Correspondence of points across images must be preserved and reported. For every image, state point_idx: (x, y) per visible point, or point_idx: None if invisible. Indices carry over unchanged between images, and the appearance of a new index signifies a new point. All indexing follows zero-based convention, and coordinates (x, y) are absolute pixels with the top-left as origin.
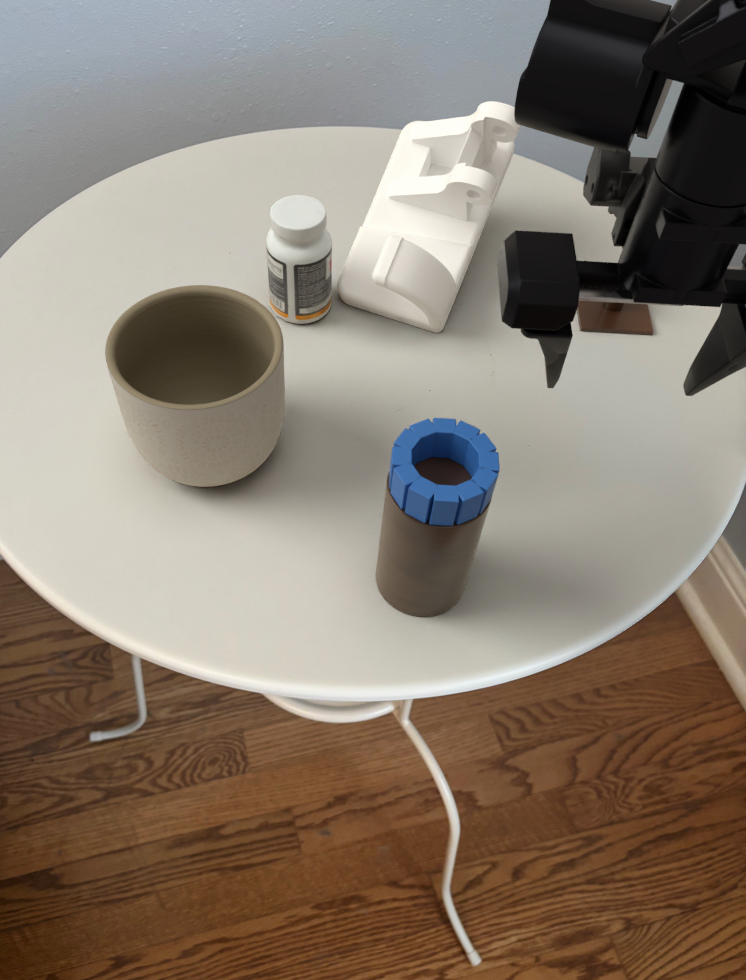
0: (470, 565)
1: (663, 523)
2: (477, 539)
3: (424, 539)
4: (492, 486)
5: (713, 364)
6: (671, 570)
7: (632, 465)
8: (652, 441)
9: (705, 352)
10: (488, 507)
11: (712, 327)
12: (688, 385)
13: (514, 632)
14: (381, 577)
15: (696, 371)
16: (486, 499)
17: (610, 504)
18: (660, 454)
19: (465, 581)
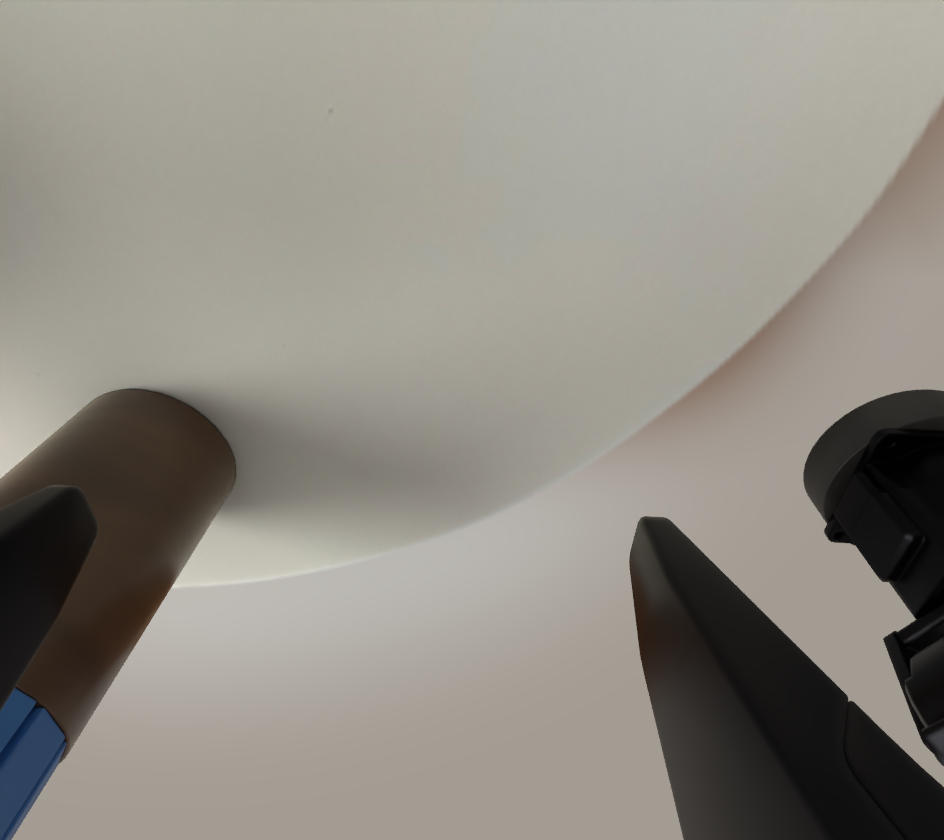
0: (186, 561)
1: (626, 344)
2: (134, 646)
3: None
4: (12, 832)
5: (698, 837)
6: (605, 440)
7: (606, 175)
8: (695, 74)
9: (717, 731)
10: (75, 738)
11: (816, 824)
12: (639, 580)
13: (324, 531)
14: None
15: (664, 651)
16: (31, 805)
17: (521, 298)
18: (699, 129)
19: (209, 524)
